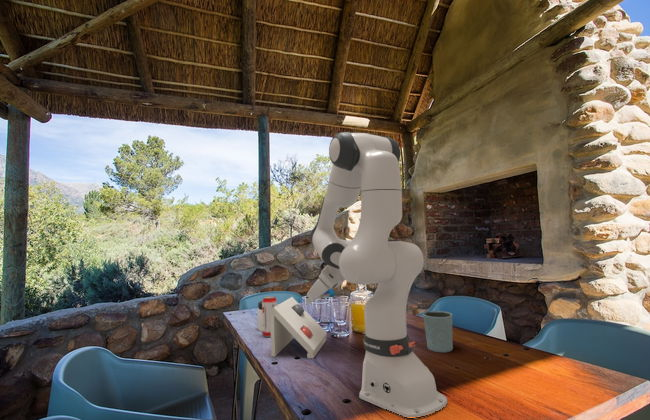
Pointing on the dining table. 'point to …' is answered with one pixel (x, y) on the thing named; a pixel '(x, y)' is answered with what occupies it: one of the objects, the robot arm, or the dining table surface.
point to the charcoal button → (298, 309)
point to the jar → (260, 316)
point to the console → (294, 329)
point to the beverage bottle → (328, 294)
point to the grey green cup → (438, 330)
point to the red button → (306, 331)
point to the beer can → (267, 313)
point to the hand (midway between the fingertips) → (308, 302)
